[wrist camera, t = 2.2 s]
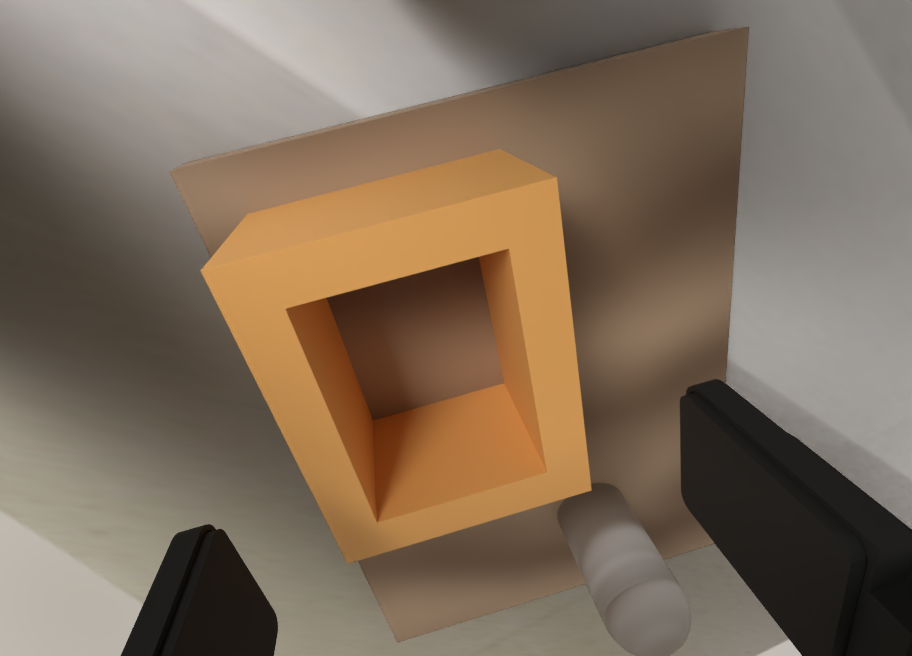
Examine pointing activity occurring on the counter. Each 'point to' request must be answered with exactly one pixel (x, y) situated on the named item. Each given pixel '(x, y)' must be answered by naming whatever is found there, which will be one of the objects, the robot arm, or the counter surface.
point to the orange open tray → (435, 425)
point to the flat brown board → (592, 302)
